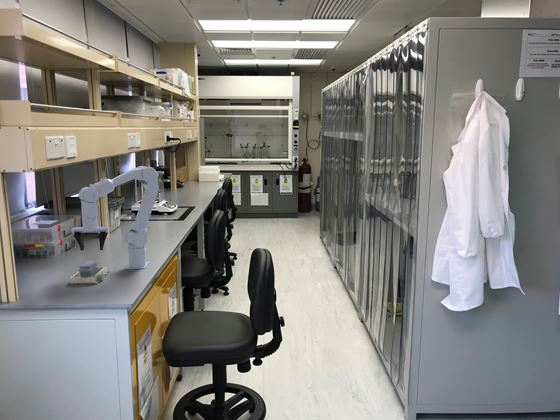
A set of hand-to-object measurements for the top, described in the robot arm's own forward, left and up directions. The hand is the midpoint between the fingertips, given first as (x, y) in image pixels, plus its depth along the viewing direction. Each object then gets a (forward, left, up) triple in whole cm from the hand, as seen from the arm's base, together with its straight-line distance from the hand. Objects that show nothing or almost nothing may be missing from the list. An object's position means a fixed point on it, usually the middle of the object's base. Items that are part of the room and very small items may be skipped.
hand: (92, 249), depth 180 cm
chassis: (+5, 0, -10) cm, 12 cm away
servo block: (+5, 0, -10) cm, 11 cm away
